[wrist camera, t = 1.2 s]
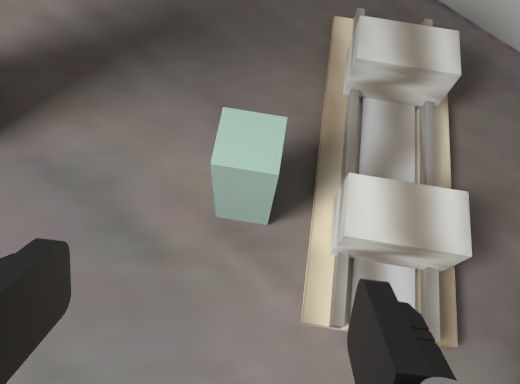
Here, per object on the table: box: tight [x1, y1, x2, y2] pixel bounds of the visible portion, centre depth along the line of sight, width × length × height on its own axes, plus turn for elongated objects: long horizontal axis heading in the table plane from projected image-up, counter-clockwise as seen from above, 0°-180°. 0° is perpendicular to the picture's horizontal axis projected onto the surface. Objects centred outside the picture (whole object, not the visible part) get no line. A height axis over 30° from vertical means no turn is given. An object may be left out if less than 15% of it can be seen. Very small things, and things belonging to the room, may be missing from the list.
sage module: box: [210, 107, 287, 225], centre depth 32 cm, size 4×4×10 cm
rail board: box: [300, 8, 472, 349], centre depth 36 cm, size 12×32×7 cm, turn 172°
